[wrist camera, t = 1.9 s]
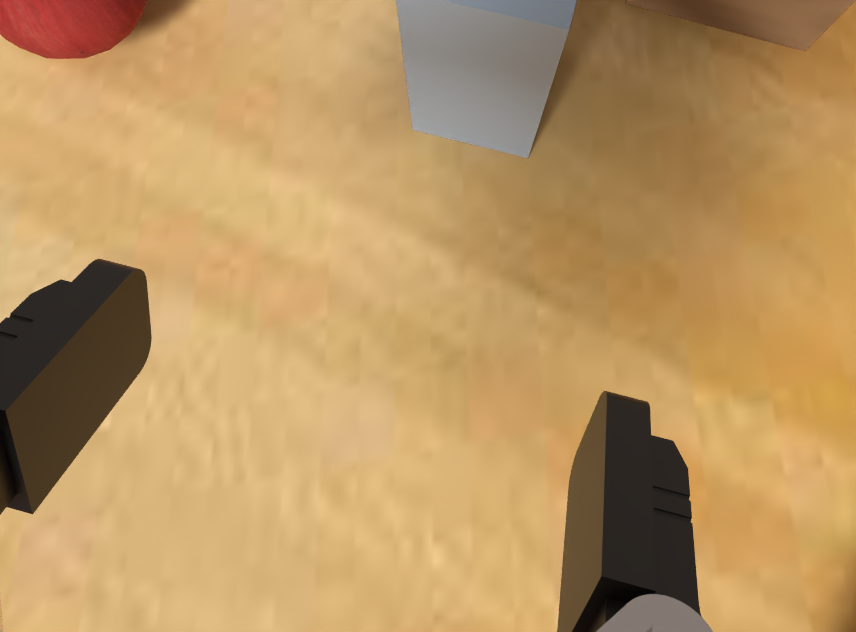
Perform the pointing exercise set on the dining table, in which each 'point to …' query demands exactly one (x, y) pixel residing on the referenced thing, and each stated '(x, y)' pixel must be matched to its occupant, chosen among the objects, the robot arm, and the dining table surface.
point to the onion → (68, 25)
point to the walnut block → (758, 17)
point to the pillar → (482, 67)
